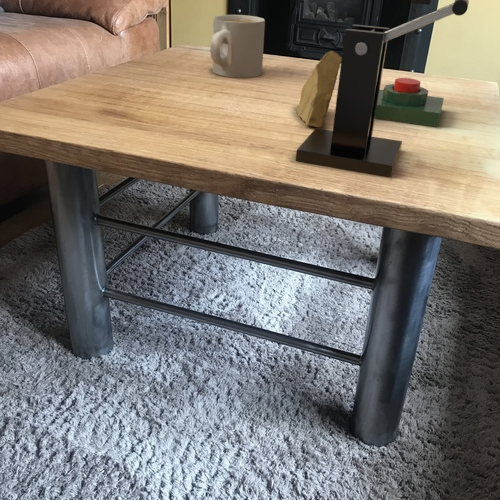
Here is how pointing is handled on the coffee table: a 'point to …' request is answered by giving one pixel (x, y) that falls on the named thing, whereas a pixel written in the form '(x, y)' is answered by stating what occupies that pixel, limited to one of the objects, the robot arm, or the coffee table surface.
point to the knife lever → (427, 19)
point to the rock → (319, 90)
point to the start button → (407, 85)
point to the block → (409, 106)
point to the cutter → (355, 111)
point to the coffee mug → (237, 45)
